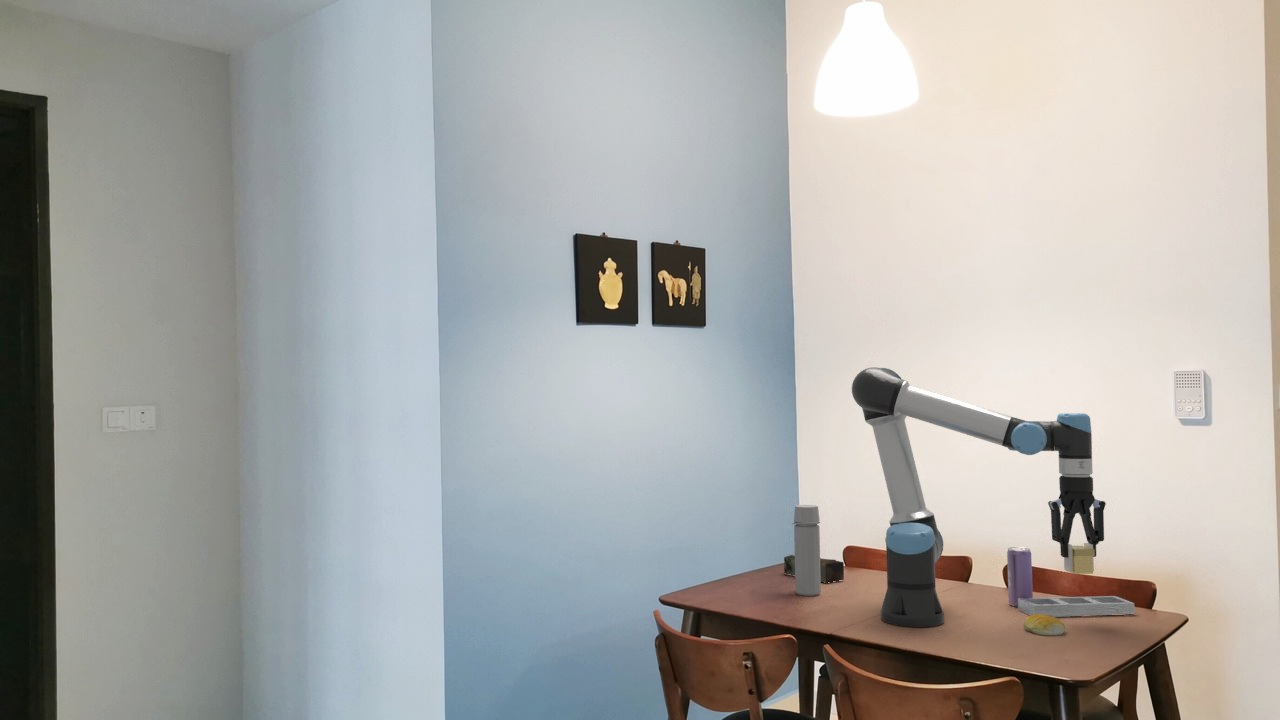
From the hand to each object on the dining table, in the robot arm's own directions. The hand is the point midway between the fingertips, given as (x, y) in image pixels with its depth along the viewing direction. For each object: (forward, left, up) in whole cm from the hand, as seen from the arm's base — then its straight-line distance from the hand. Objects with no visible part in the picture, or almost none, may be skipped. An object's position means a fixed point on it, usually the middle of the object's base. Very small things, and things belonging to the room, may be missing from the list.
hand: (1079, 570), depth 224 cm
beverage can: (-6, +19, -13) cm, 24 cm away
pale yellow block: (0, 0, 0) cm, 0 cm away
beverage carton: (-52, +62, -13) cm, 82 cm away
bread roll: (-13, -8, -13) cm, 20 cm away
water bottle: (-59, +40, -13) cm, 72 cm away
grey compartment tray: (+4, +10, -13) cm, 16 cm away
